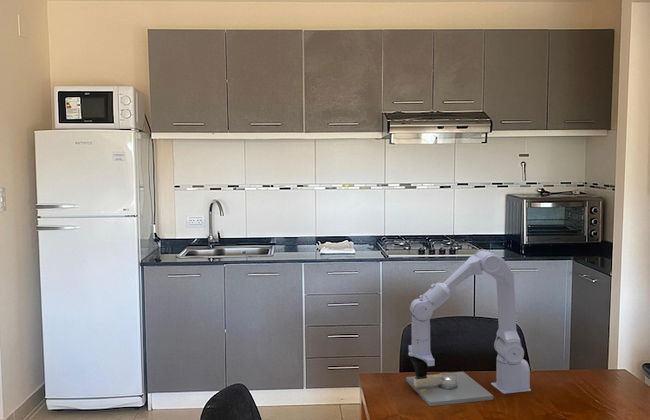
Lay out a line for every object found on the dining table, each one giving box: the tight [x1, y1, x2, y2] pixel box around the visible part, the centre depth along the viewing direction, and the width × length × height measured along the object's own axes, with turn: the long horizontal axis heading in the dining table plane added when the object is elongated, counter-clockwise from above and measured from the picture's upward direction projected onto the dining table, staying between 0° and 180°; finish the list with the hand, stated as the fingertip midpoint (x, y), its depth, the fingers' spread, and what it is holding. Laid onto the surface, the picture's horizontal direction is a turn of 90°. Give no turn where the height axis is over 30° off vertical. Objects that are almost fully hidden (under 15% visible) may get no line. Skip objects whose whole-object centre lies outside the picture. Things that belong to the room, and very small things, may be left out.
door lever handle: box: [414, 372, 458, 389], centre depth 169 cm, size 14×6×4 cm, turn 105°
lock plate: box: [405, 371, 494, 407], centre depth 170 cm, size 20×20×2 cm
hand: (421, 380), depth 170 cm, fingers closed
